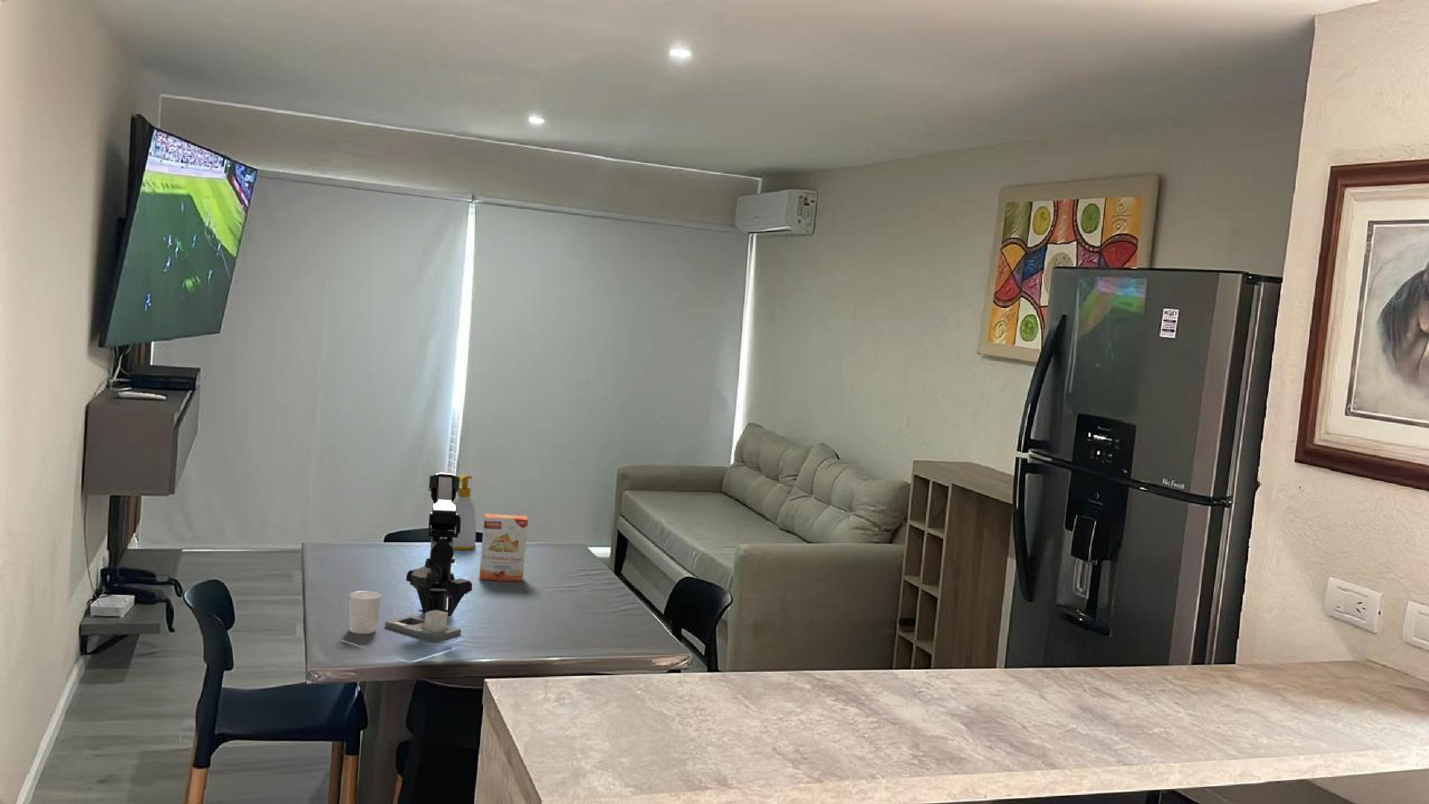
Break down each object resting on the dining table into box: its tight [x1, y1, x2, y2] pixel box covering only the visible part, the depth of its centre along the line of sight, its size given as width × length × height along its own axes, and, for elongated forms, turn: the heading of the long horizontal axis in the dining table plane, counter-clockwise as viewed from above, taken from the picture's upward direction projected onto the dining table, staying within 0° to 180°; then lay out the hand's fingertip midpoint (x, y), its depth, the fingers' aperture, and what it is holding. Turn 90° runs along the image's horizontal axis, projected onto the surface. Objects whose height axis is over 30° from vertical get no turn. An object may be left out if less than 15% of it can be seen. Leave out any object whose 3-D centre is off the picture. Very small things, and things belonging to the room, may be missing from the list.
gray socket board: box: [384, 614, 462, 643], centre depth 306 cm, size 10×18×2 cm, turn 60°
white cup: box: [348, 590, 382, 635], centre depth 302 cm, size 8×8×10 cm
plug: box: [424, 610, 448, 633], centre depth 303 cm, size 5×4×6 cm
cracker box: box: [478, 513, 529, 583], centre depth 369 cm, size 14×6×21 cm, turn 102°
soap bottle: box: [452, 474, 477, 551], centre depth 408 cm, size 11×12×26 cm
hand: (436, 612), depth 303 cm, fingers open, 9 cm apart
